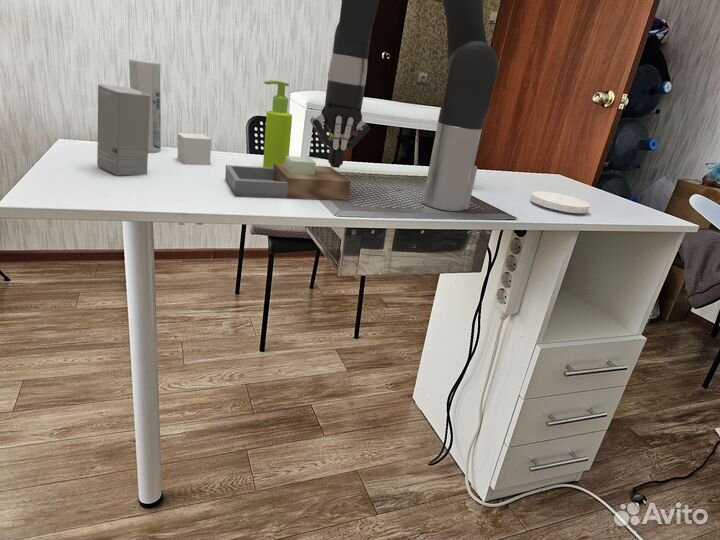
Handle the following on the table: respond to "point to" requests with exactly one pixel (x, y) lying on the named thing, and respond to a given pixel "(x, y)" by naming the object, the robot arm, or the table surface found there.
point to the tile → (300, 165)
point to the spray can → (148, 82)
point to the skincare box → (123, 130)
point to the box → (254, 182)
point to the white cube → (194, 149)
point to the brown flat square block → (314, 183)
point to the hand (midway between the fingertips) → (334, 166)
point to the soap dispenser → (277, 128)
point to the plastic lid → (559, 202)
